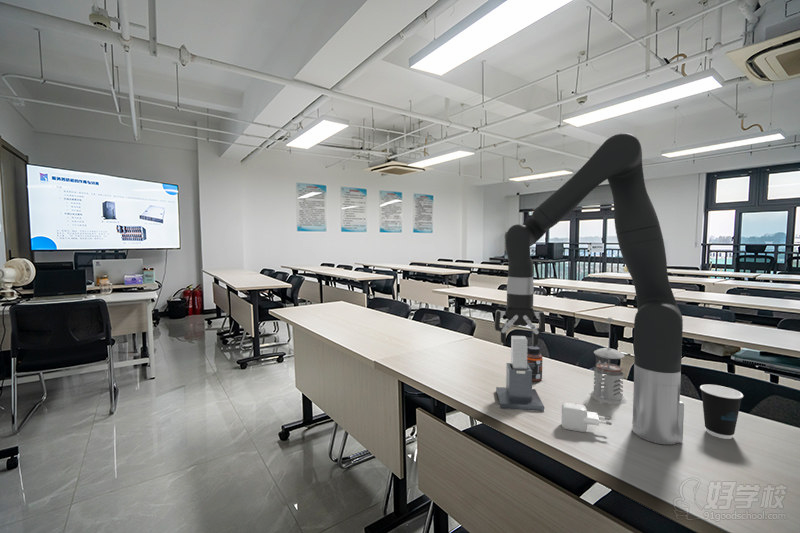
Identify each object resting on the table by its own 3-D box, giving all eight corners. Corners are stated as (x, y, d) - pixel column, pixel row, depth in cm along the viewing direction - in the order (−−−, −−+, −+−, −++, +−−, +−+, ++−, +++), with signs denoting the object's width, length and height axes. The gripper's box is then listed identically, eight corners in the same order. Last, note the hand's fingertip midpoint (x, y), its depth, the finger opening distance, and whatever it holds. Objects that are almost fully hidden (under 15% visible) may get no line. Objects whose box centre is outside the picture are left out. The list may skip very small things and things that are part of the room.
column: (524, 392, 109) (525, 336, 108) (527, 398, 104) (527, 339, 103) (510, 392, 109) (510, 335, 108) (512, 397, 105) (513, 339, 104)
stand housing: (535, 393, 112) (535, 361, 111) (543, 411, 100) (544, 375, 99) (496, 391, 114) (496, 359, 113) (500, 408, 102) (500, 373, 101)
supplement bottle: (543, 382, 121) (544, 350, 120) (525, 381, 122) (525, 349, 121) (540, 376, 127) (540, 345, 126) (523, 375, 128) (523, 344, 127)
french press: (631, 398, 108) (634, 317, 106) (615, 409, 101) (618, 323, 99) (598, 388, 116) (600, 313, 114) (581, 397, 109) (583, 317, 107)
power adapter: (609, 429, 90) (609, 407, 89) (612, 439, 85) (612, 415, 85) (561, 421, 94) (561, 400, 94) (561, 430, 90) (562, 408, 89)
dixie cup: (705, 422, 93) (706, 382, 92) (746, 436, 86) (748, 392, 86) (692, 431, 89) (694, 388, 88) (734, 446, 82) (737, 400, 81)
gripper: (496, 293, 102) (495, 347, 103) (548, 294, 100) (546, 350, 101) (494, 289, 110) (493, 340, 111) (542, 290, 107) (540, 342, 108)
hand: (518, 345), depth 106 cm, fingers open, 8 cm apart
